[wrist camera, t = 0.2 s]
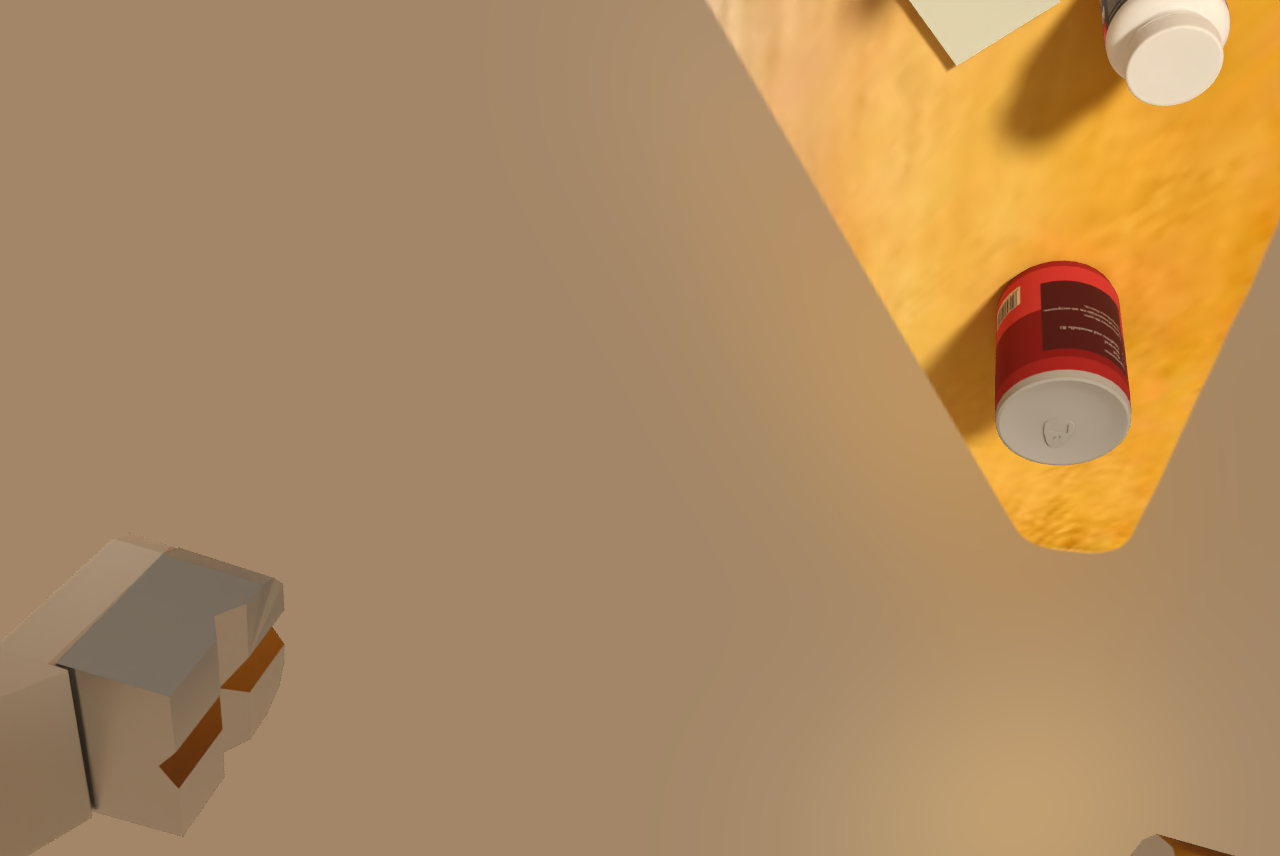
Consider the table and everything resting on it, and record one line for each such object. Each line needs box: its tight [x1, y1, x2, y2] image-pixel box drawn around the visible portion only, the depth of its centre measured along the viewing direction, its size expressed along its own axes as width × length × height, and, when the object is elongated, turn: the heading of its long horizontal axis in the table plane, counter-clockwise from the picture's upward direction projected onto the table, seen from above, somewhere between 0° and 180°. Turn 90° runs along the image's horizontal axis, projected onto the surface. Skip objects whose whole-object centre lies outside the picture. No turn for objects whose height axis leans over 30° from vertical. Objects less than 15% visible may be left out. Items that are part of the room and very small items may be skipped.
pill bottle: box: [1099, 0, 1230, 106], centre depth 49 cm, size 5×5×9 cm
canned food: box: [995, 261, 1131, 465], centre depth 64 cm, size 8×8×11 cm
